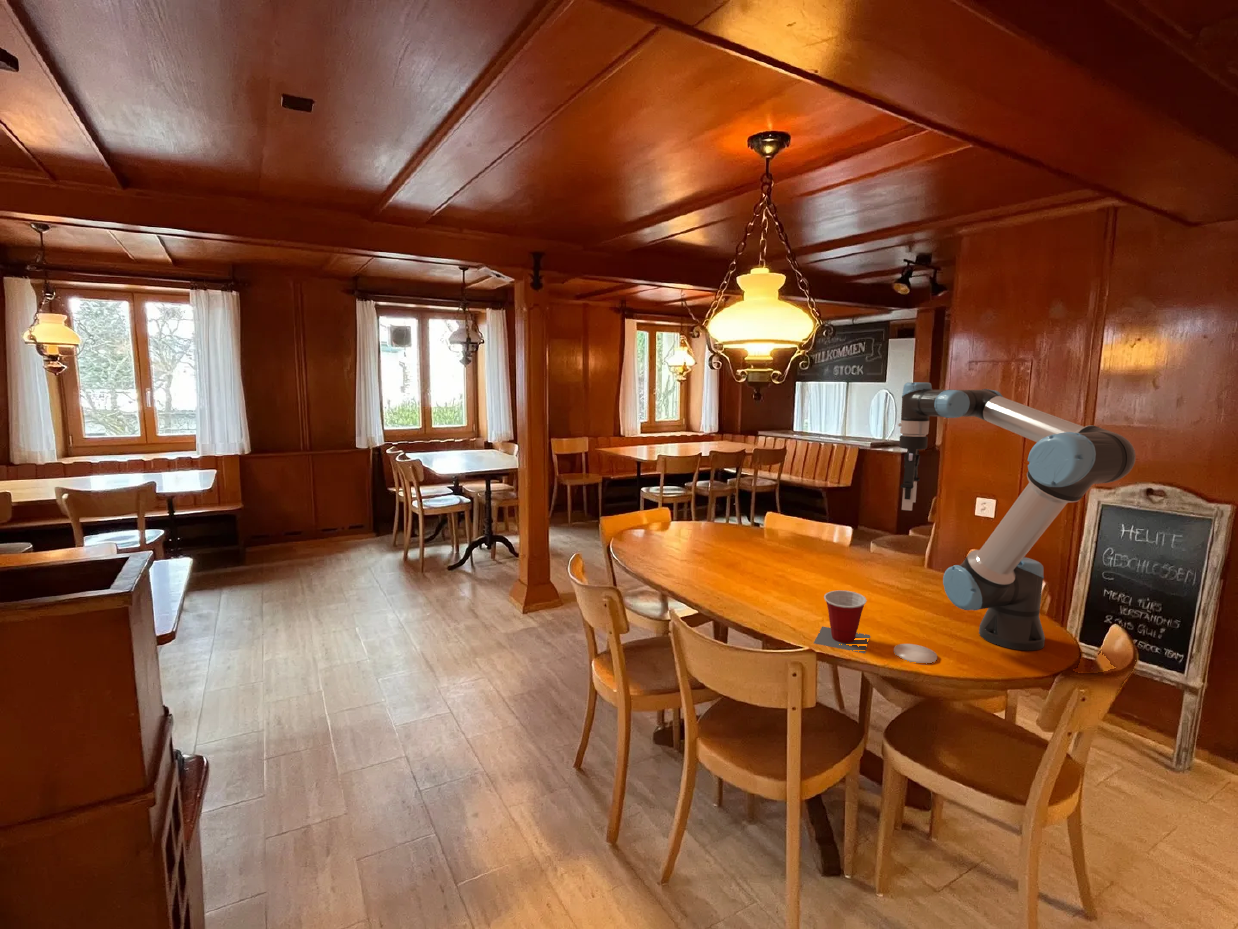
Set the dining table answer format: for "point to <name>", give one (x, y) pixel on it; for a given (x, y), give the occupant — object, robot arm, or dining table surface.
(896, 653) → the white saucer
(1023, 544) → the robot arm
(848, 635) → the plastic cup
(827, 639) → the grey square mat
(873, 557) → the dining table surface
